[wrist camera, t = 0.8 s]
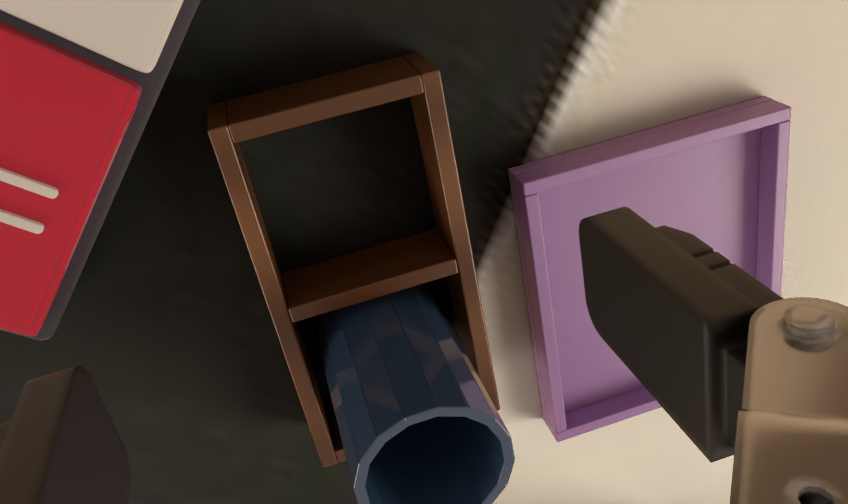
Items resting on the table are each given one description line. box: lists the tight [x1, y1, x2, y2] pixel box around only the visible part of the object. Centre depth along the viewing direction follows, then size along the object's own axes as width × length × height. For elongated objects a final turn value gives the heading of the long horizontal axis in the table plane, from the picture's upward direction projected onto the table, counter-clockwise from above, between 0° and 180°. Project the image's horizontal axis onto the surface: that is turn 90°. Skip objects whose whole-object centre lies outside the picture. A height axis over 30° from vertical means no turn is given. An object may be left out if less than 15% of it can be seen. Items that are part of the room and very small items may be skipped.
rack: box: [207, 52, 500, 467], centre depth 31 cm, size 16×8×3 cm, turn 11°
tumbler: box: [318, 284, 515, 504], centre depth 30 cm, size 6×6×10 cm
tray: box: [508, 96, 791, 442], centre depth 36 cm, size 14×12×2 cm
